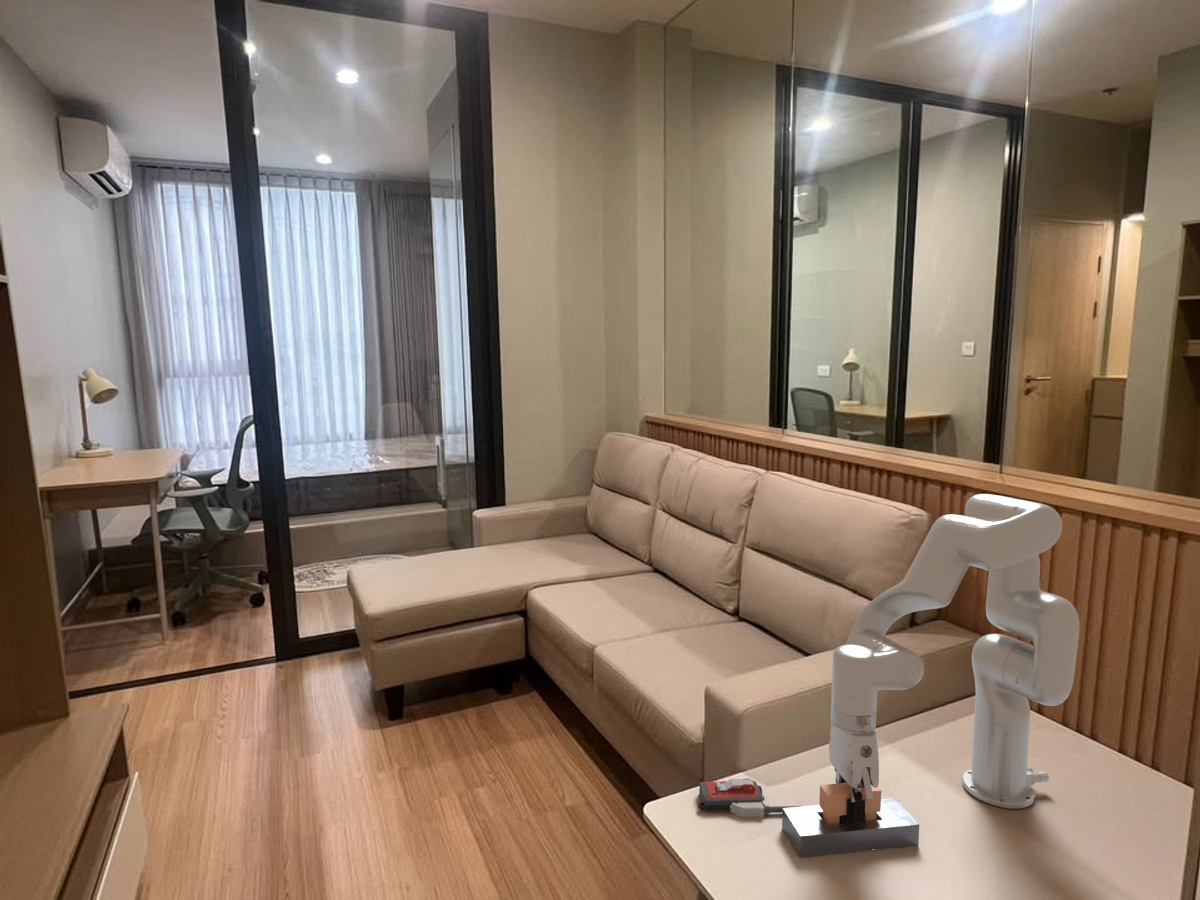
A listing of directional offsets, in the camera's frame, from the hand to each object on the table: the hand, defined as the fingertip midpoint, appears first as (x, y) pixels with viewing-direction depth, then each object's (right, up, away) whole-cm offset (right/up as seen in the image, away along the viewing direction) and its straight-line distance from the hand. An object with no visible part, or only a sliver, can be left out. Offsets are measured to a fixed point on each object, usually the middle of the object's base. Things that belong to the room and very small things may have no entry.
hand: (850, 812), depth 128 cm
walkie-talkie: (-16, -4, +11) cm, 20 cm away
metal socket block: (0, -5, 0) cm, 5 cm away
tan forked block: (0, -4, 0) cm, 4 cm away
